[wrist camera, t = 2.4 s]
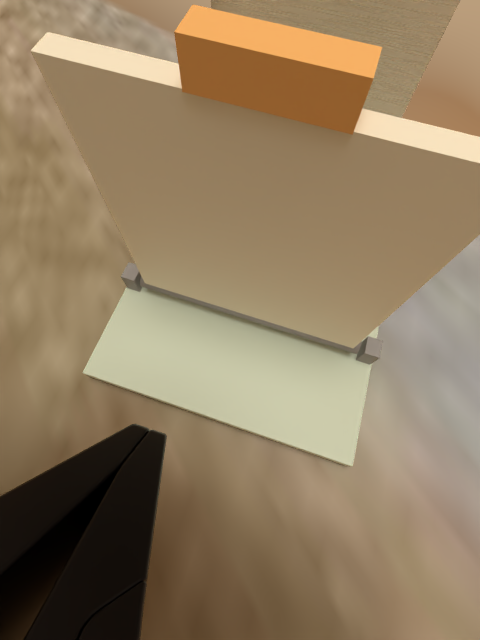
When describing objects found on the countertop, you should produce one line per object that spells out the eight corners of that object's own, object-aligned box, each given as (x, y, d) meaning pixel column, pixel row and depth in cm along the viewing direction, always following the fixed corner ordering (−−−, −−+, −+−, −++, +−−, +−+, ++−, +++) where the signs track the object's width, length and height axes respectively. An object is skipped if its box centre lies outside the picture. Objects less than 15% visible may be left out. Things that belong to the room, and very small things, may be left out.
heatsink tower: (331, 266, 22) (521, -95, 7) (212, 232, 22) (179, -155, 8) (346, 211, 23) (524, -171, 9) (234, 180, 24) (239, -215, 10)
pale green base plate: (346, 466, 18) (362, 467, 16) (89, 376, 20) (71, 366, 17) (394, 218, 24) (410, 194, 22) (196, 165, 26) (193, 137, 24)
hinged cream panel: (353, 356, 19) (616, 135, 6) (142, 289, 20) (-16, -13, 7) (356, 339, 19) (612, 98, 6) (149, 275, 20) (10, -37, 8)
